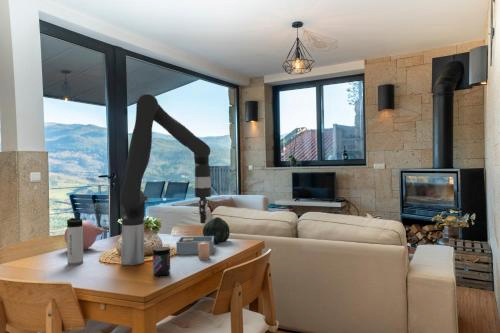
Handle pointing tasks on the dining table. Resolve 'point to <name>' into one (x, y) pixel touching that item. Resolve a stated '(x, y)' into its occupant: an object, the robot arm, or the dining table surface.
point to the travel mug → (74, 241)
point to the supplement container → (161, 261)
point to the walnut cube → (188, 240)
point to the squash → (217, 230)
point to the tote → (194, 244)
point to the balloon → (88, 234)
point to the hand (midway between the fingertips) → (203, 221)
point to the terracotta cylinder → (203, 250)
